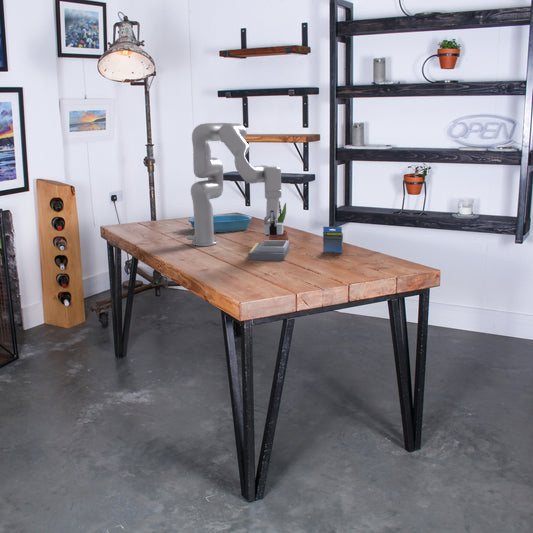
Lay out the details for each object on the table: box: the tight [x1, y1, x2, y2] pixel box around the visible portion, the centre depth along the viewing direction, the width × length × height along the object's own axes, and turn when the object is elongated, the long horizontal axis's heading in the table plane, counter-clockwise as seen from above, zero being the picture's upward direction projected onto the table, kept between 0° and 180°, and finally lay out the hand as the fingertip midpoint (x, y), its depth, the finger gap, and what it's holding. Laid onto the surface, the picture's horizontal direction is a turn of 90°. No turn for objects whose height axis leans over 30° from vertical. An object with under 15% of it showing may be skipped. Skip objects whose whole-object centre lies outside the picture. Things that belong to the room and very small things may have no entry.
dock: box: [247, 239, 290, 261], centre depth 296 cm, size 16×24×5 cm, turn 172°
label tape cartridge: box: [322, 226, 344, 254], centre depth 298 cm, size 9×4×12 cm, turn 74°
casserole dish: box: [187, 214, 253, 234], centre depth 361 cm, size 37×22×7 cm, turn 112°
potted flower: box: [265, 198, 289, 241], centre depth 321 cm, size 12×10×25 cm
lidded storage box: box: [263, 216, 284, 237], centre depth 294 cm, size 8×5×8 cm, turn 82°
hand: (273, 233), depth 294 cm, fingers closed on lidded storage box, 5 cm apart
